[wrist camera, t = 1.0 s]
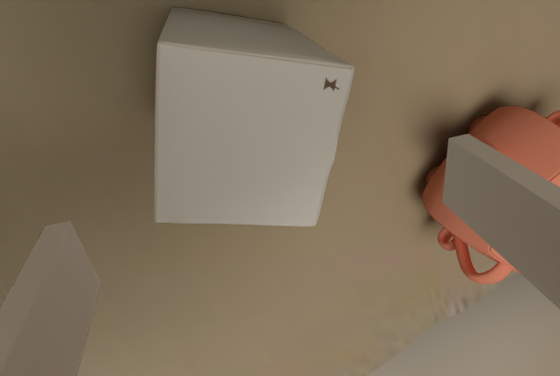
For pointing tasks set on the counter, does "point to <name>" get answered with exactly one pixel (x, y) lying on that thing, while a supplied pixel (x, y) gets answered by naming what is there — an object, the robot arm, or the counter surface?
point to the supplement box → (243, 121)
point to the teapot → (514, 144)
